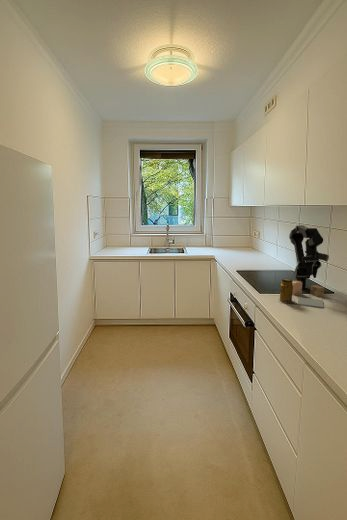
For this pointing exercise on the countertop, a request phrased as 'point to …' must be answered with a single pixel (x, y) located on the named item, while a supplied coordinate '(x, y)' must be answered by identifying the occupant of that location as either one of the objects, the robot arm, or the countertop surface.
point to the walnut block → (317, 290)
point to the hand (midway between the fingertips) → (312, 276)
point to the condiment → (286, 292)
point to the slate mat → (310, 302)
